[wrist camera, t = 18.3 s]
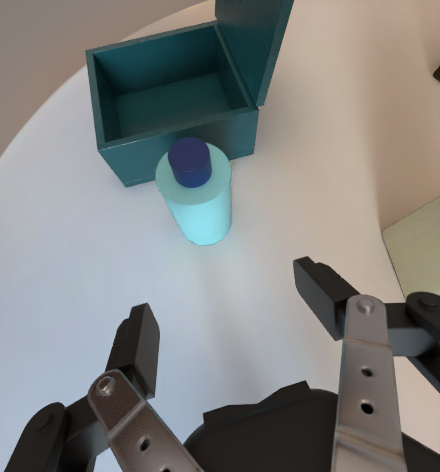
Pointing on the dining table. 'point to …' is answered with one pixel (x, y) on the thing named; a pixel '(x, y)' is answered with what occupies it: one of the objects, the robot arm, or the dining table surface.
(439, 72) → the manual coffee grinder
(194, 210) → the water bottle
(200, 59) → the teal open box
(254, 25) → the teal box lid
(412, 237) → the toy refrigerator
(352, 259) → the dining table surface
